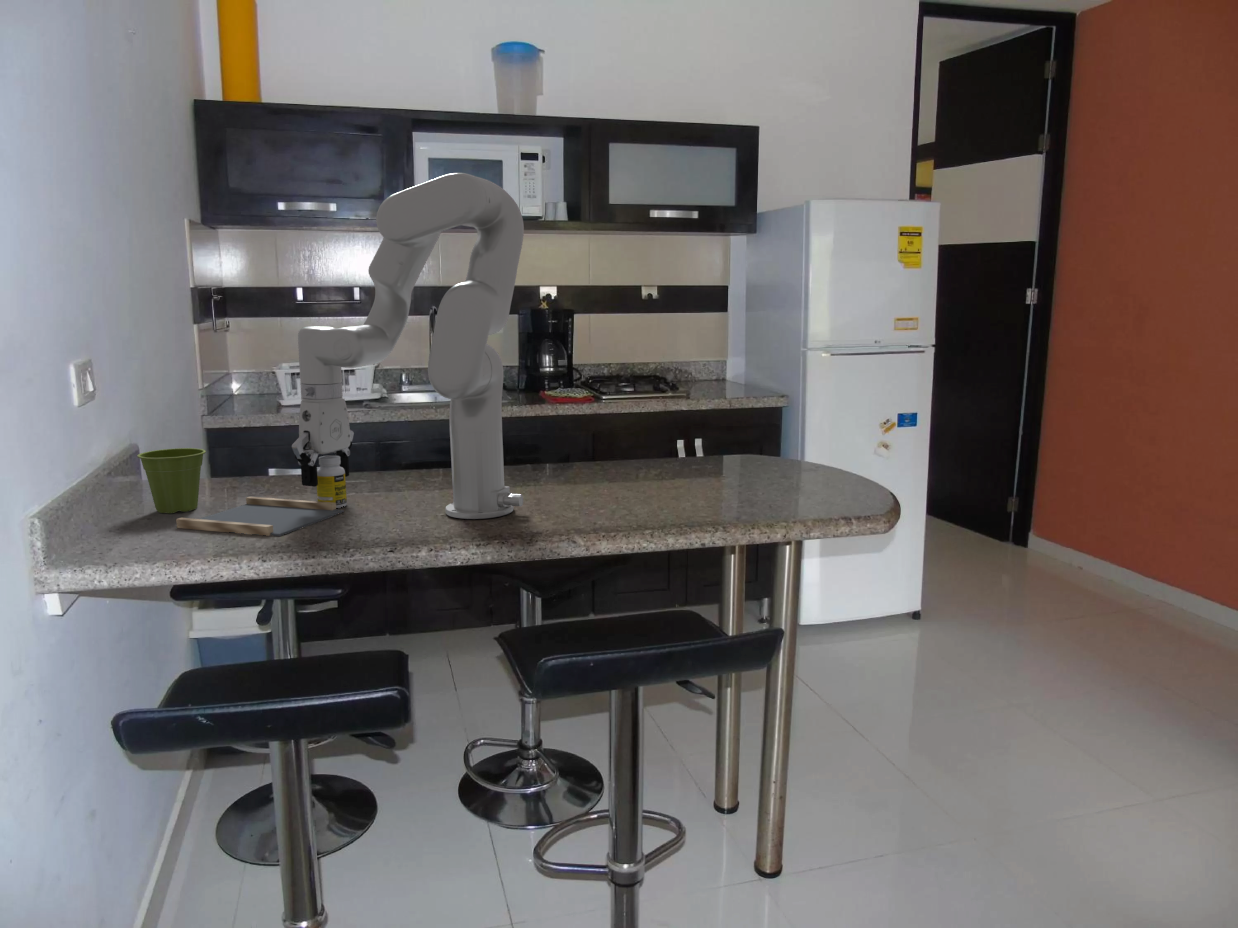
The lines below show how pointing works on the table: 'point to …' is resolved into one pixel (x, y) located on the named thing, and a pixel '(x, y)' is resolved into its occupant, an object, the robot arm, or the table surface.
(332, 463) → the supplement bottle
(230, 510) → the mat
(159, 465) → the plant pot
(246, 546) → the table surface
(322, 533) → the table surface
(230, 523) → the strip left
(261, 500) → the strip right
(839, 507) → the table surface
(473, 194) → the robot arm
